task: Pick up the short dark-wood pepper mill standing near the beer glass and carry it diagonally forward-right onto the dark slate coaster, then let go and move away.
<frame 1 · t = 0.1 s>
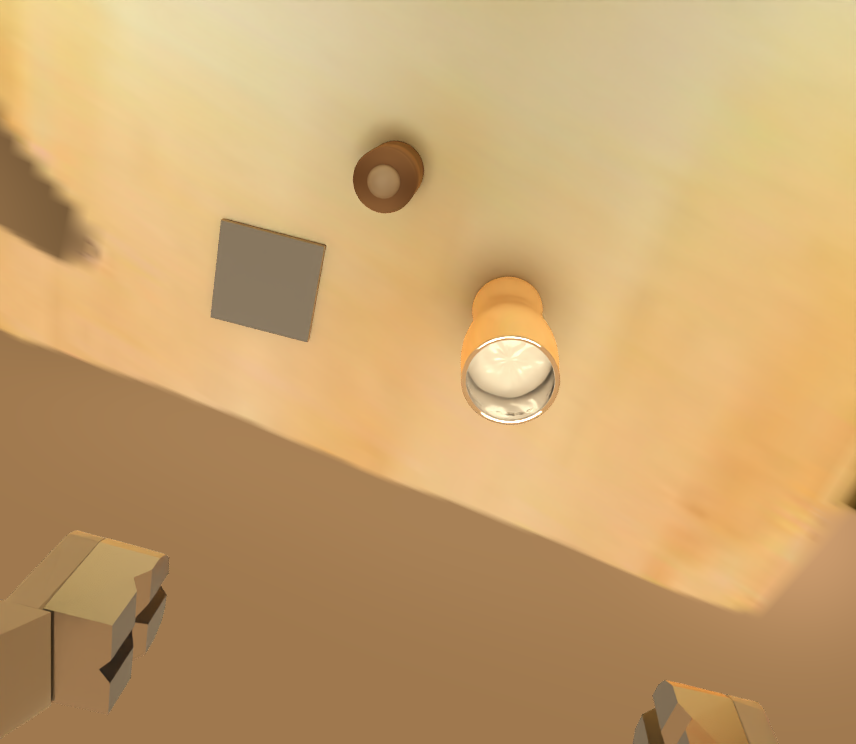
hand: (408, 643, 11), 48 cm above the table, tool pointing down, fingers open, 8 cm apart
coaster: (267, 281, 59), on the table
pepper mill: (395, 170, 55), on the table
beer glass: (507, 309, 59), on the table
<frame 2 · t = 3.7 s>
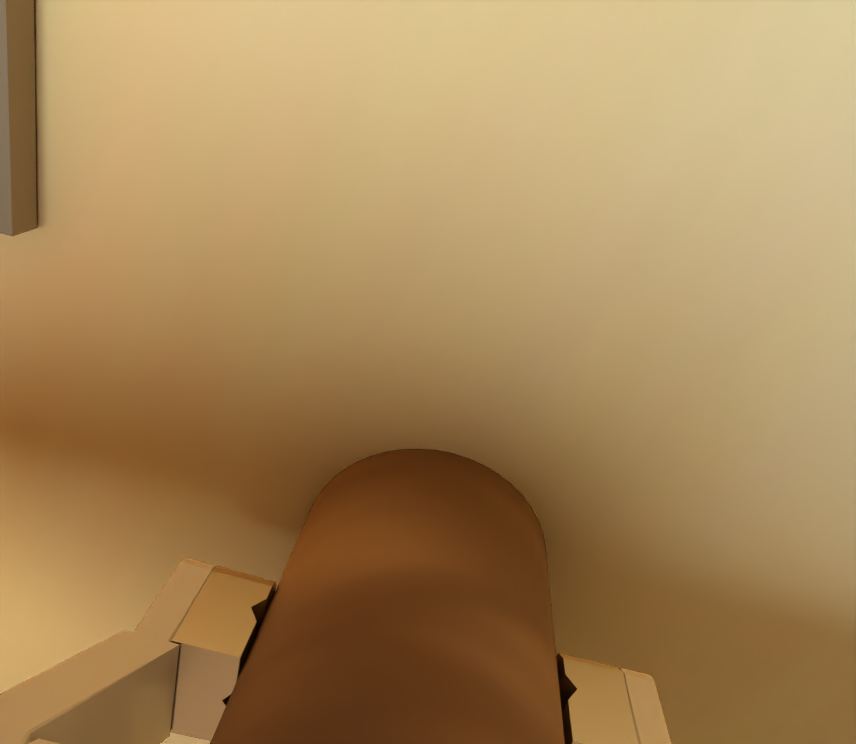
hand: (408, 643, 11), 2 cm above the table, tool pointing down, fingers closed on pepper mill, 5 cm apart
pepper mill: (423, 554, 13), on the table, touching gripper
when the fingers open (4 cm above the table, at t = 9.4 s): pepper mill drops 1 cm, resting on coaster.
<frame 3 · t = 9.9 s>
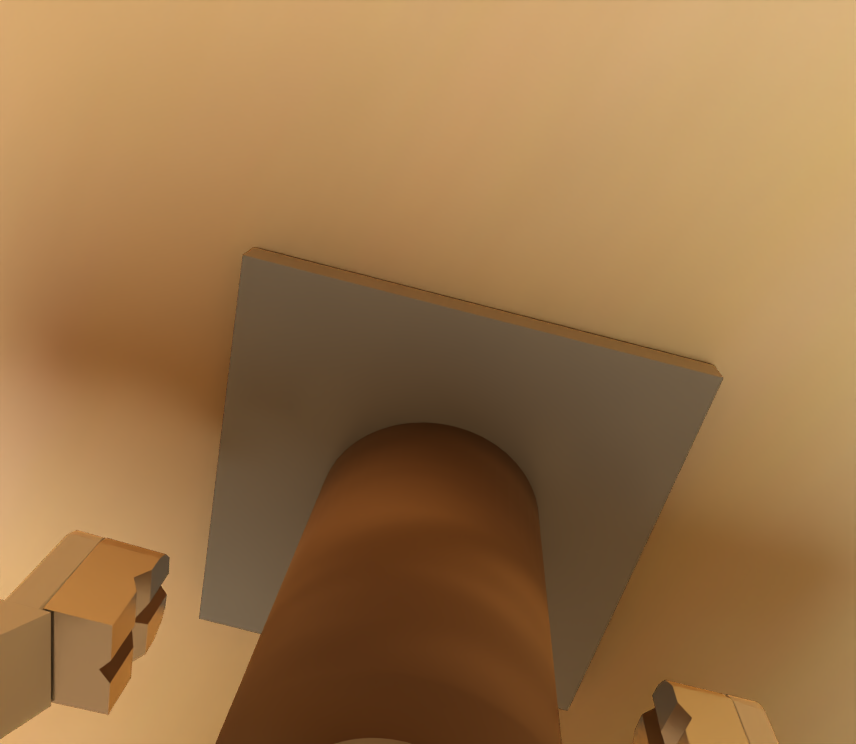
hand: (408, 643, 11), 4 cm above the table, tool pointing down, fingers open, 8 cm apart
coaster: (429, 497, 15), on the table
pepper mill: (427, 519, 14), point 1 cm above the table, touching coaster
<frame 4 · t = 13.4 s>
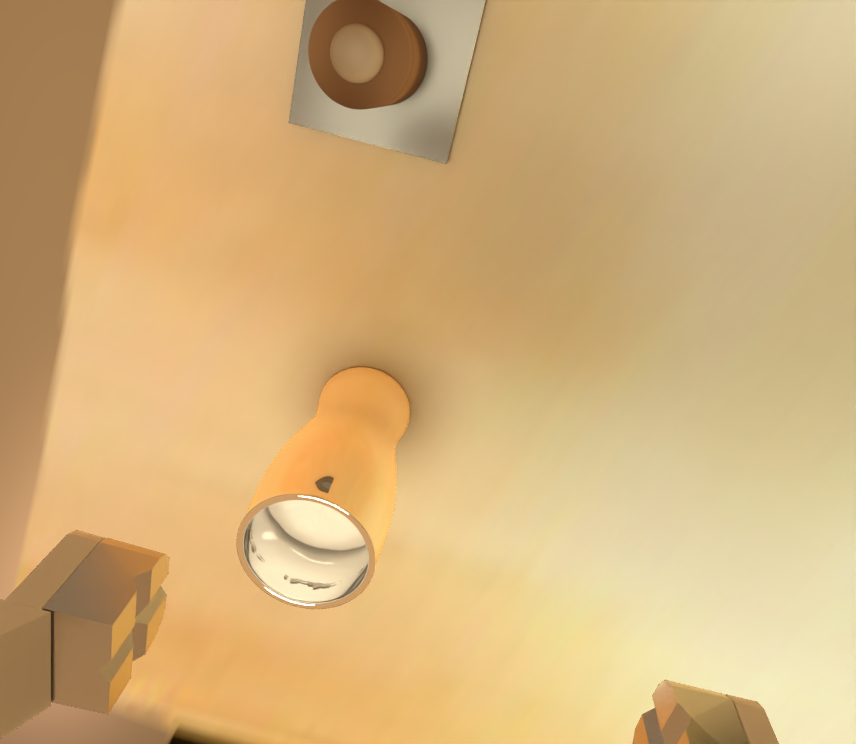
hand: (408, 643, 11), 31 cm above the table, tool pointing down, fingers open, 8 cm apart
coaster: (385, 56, 36), on the table
pepper mill: (384, 58, 35), point 1 cm above the table, touching coaster
beer glass: (365, 406, 45), on the table
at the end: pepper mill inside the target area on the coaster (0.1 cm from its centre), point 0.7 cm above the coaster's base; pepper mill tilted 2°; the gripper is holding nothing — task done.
